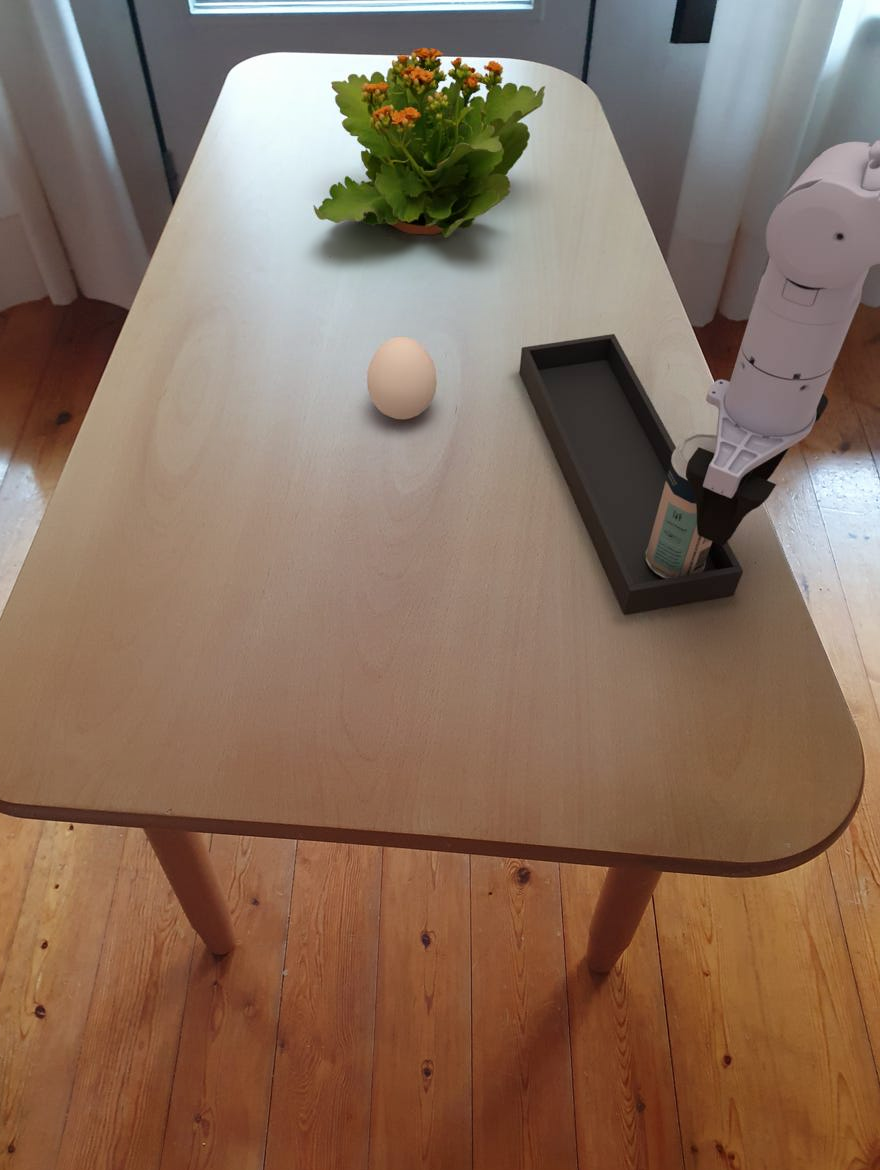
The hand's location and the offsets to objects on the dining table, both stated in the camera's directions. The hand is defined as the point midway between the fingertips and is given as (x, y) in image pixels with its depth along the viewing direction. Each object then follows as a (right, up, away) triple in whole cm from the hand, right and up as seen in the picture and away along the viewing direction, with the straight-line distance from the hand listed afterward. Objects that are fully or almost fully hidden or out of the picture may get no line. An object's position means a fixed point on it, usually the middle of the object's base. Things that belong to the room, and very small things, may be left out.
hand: (733, 505), depth 72 cm
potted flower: (-21, +39, +41) cm, 61 cm away
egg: (-24, +11, +20) cm, 34 cm away
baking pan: (-5, +5, +15) cm, 16 cm away
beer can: (-2, -4, +8) cm, 9 cm away
